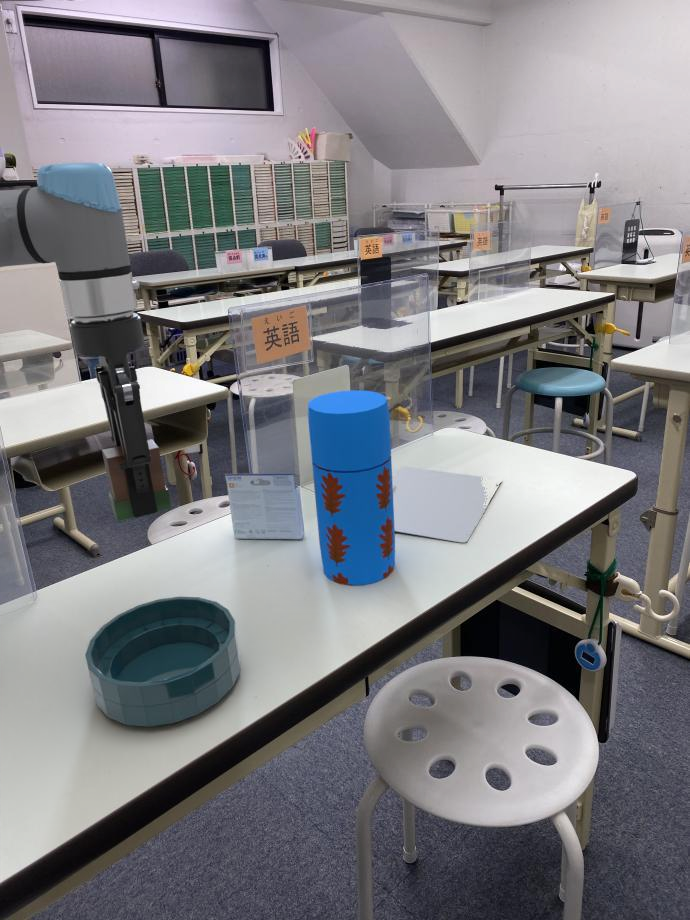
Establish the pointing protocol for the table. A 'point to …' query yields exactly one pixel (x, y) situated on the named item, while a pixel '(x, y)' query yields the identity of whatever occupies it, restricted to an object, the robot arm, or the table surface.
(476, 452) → the table surface
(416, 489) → the white flat square sheet
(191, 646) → the bowl
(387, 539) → the thermos
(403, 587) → the table surface
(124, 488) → the sponge
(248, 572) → the table surface
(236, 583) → the table surface
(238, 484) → the ink box
